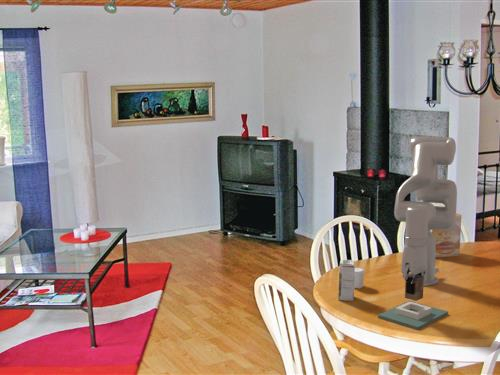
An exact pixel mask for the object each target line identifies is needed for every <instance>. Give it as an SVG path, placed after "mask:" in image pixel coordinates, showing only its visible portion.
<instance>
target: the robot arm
mask: <svg viewBox="0 0 500 375" xmlns="http://www.w3.org/2000/svg"><path fill="white" fill-rule="evenodd" d="M409 150H410V154H411V157H412V164H411V171H410V177H409V178H408V179H406V180H405V181H404V182H402V183H401V185H400V187H399V188H398V190H397V192H396V195H395V202H394V209H393V210H394V211H393V213H394V218H395V219H396V221H398V222H402V223H405V234H404V235H405V236H404V237H405V238H404V247H403V250H402V258H401V268H400V270H401V271H400V272H401V273H402V278H403V279H404V280H405V281H404V282H406V293H408V294H412V295H414V294H415V283H414V278H415V275H416V274H417V275H422V276H424V285H423V287H424V286H427V287H429V286H435V285H437V284H438V283H439V277H437V276H436V275H437V273H439V272H440V269H439V268H437V267H436V258H437V257H436V238H435V236H434V235H433V233H432V232H431V231H430V230H445V231H449V230H452V229H454V227H455V223H456V213H457V203H458V201H457V200H458V198H457V197H458V190H457V188H458V187H457V185H456V184H457V183H456V182H455V181H454V180H452V179H441V178H440V179H439V166H451V165H452V163H453V162H454V160H455V155H456V153H457V152H456V150H457V144H456V141H455V139H454V138H453V137H447V136H415V137H412V138H411V139H410V140H409ZM413 192H415V198H416V200H417V201H415V200H414V201H411V200H405V198H406V197H407V196H408V195H409V194H411V193H413ZM434 204H443V205H444V206H442V205H441V206H436V205H434ZM409 276H412V278H410V277H409Z"/></svg>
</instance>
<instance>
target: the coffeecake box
mask: <svg viewBox="0 0 500 375" xmlns="http://www.w3.org/2000/svg"><path fill="white" fill-rule="evenodd" d="M462 216H463V215H462V214H461V213H457V212H456V223H455V227H454V229H452V230H449V231H445V230H430V231H431V232H432V233H433V235H434V236H435V238H436V258H445V257H447V258H449V257H457V256H458V257H459V256H460V250H461V249H460V248H461V247H460V246H461V231H462Z"/></svg>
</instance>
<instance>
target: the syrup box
mask: <svg viewBox="0 0 500 375" xmlns="http://www.w3.org/2000/svg"><path fill="white" fill-rule="evenodd" d="M355 267H356V260H352V259H340V262H339V270H338V272H339V273H338V298H337V299H338V301H349V302H353V301H354V296H355V288H354V278H355Z"/></svg>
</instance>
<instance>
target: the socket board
mask: <svg viewBox="0 0 500 375" xmlns="http://www.w3.org/2000/svg"><path fill="white" fill-rule="evenodd" d="M447 315H449V311H448V310H444V309H441V308H437V307H433V306H429V305H426V304H423V303H419V302H416V301H413V300H408V301H406V302H404V303H401V304H399V305H396V306H394V307H392V308H390V309H388V310H386V311H384V312H381V313H380V314H377V318H379V319H382V320H385V321H387V322H391V323H395V324H398V325H401V326H404V327H408V328H410V329H415V330H417V331H418V330H420V329H422V328H424V327H427V326H428V325H430V324H432V323H434V322H436V321H437V320H440V319H442V318H443V317H446V316H447Z"/></svg>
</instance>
